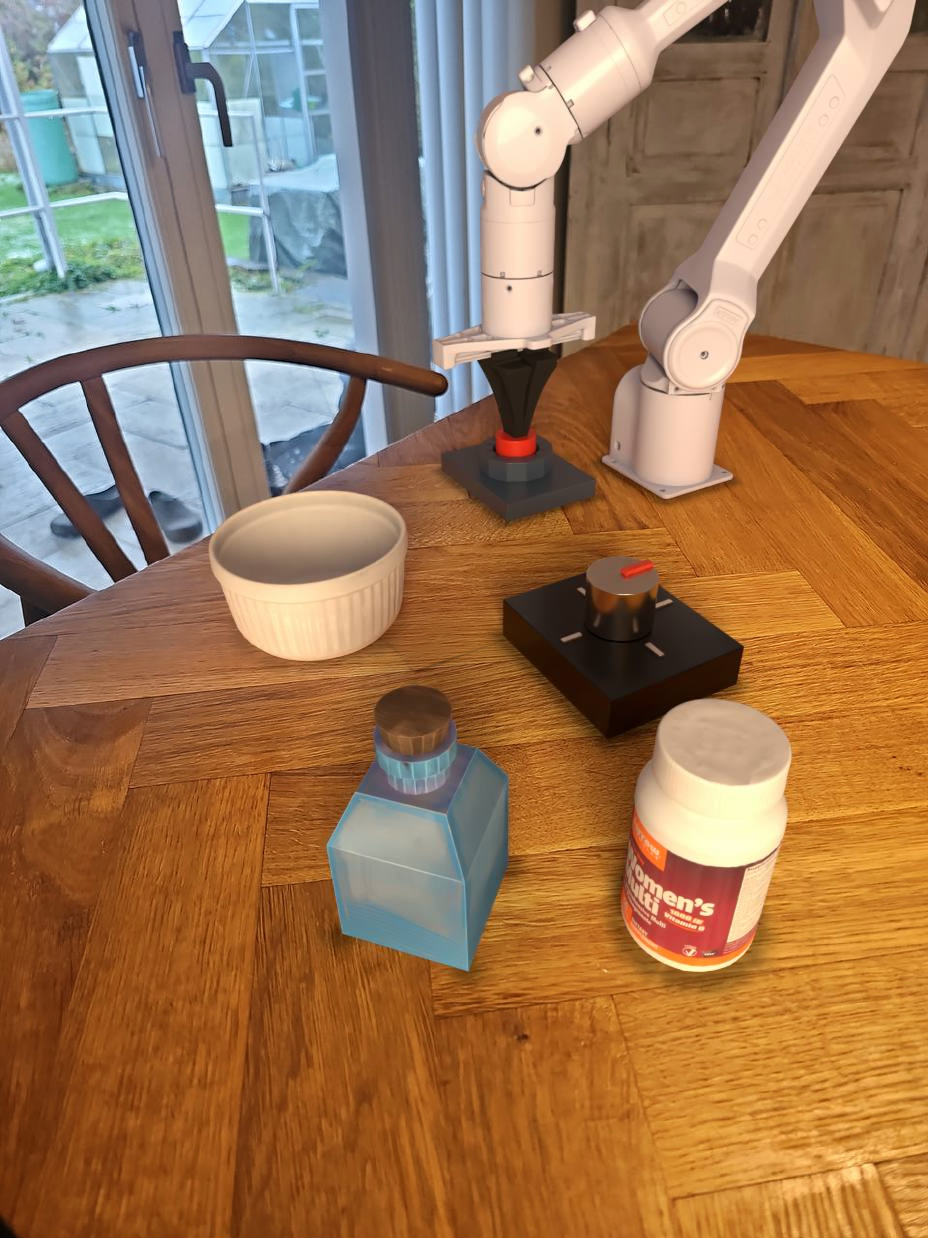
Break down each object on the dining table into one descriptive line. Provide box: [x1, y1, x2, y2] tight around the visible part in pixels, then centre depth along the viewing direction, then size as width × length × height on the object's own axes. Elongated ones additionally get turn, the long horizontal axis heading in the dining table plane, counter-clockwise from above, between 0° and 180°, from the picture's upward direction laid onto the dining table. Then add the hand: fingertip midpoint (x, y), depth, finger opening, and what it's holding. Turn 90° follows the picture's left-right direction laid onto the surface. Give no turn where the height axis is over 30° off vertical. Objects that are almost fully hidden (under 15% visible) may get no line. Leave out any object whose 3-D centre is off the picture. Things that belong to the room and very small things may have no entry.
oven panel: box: [502, 571, 745, 740], centre depth 55 cm, size 12×10×3 cm
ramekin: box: [208, 489, 409, 662], centre depth 59 cm, size 13×13×7 cm
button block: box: [440, 434, 597, 523], centre depth 76 cm, size 12×9×4 cm
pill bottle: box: [620, 698, 793, 973], centre depth 36 cm, size 6×6×11 cm
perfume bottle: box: [326, 684, 510, 972], centre depth 37 cm, size 6×6×12 cm
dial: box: [583, 555, 660, 641], centre depth 53 cm, size 4×4×4 cm
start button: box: [494, 427, 537, 457], centre depth 75 cm, size 4×4×2 cm
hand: (515, 433), depth 74 cm, fingers closed, pressing on start button
